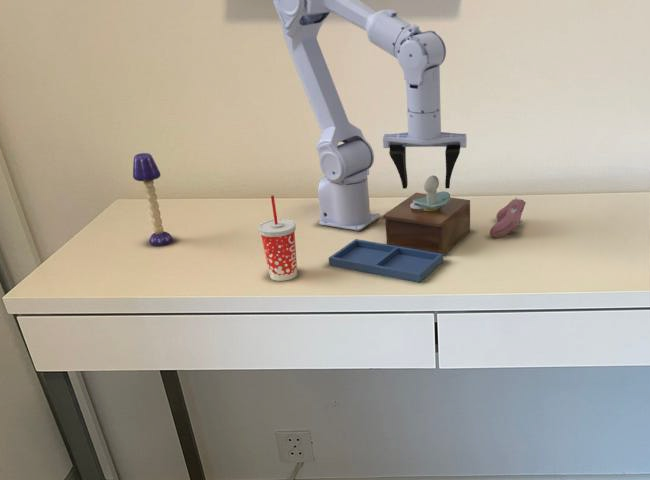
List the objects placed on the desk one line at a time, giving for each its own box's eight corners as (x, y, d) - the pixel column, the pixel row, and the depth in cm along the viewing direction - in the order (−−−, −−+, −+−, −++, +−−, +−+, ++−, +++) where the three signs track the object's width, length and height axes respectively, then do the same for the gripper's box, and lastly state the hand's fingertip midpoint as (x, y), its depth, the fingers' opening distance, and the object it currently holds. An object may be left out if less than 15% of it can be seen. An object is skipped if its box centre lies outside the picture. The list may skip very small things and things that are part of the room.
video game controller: (508, 247, 141) (526, 216, 137) (487, 235, 141) (504, 204, 137) (515, 227, 149) (532, 198, 146) (494, 216, 149) (511, 187, 145)
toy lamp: (180, 240, 143) (161, 152, 134) (162, 249, 139) (142, 159, 131) (161, 236, 145) (141, 149, 136) (143, 245, 141) (121, 156, 132)
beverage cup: (284, 285, 125) (273, 204, 118) (257, 277, 128) (244, 198, 121) (309, 272, 130) (299, 193, 122) (282, 264, 132) (271, 187, 125)
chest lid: (440, 227, 131) (439, 224, 131) (382, 218, 135) (382, 215, 135) (470, 203, 141) (470, 200, 141) (416, 195, 145) (415, 192, 145)
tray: (419, 282, 125) (419, 274, 124) (329, 265, 132) (328, 257, 131) (443, 261, 132) (443, 253, 132) (356, 246, 139) (355, 238, 138)
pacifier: (403, 208, 138) (423, 216, 134) (400, 175, 135) (421, 182, 131) (433, 199, 142) (454, 206, 138) (432, 166, 139) (453, 172, 134)
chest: (442, 256, 134) (441, 225, 131) (386, 246, 139) (384, 217, 136) (470, 231, 144) (470, 203, 141) (417, 223, 148) (416, 195, 145)
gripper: (466, 103, 132) (467, 179, 139) (384, 104, 132) (388, 179, 139) (465, 113, 126) (466, 192, 133) (379, 114, 126) (384, 192, 133)
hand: (426, 186), depth 136 cm, fingers open, 7 cm apart
